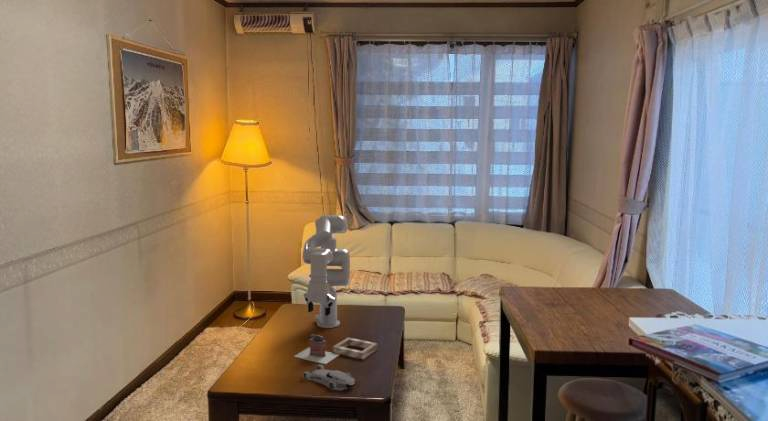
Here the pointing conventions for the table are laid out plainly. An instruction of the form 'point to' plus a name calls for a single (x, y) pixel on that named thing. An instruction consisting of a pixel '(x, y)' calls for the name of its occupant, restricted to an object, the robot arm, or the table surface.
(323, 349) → the lighter
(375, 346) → the slot holder
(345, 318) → the table surface
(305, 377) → the car model
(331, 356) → the mat
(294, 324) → the table surface
